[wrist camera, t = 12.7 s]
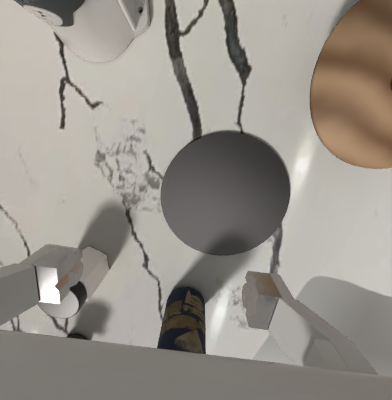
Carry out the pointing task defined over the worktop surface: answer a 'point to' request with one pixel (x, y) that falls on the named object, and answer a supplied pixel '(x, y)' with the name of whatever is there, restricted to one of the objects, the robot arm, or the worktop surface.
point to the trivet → (225, 193)
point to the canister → (184, 322)
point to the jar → (80, 285)
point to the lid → (356, 87)
